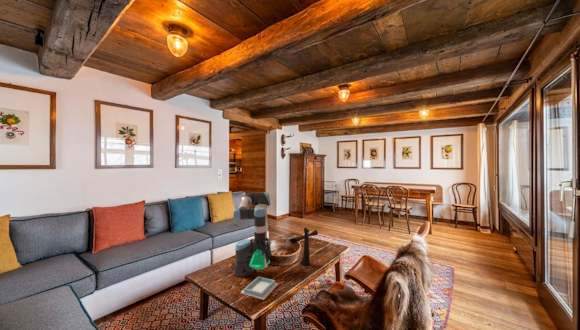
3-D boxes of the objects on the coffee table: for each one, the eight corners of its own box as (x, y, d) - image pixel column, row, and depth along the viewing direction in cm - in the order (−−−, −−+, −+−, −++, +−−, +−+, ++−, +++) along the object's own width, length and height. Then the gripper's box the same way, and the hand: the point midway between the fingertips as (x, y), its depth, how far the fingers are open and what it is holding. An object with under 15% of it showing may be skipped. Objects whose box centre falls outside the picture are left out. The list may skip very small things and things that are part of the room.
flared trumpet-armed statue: (295, 272, 171) (295, 233, 171) (286, 268, 178) (286, 230, 177) (320, 259, 193) (320, 224, 193) (312, 256, 200) (312, 222, 200)
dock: (240, 293, 144) (240, 288, 144) (256, 279, 161) (256, 275, 161) (263, 300, 138) (263, 295, 137) (277, 284, 154) (277, 280, 154)
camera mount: (257, 271, 142) (257, 255, 142) (249, 268, 147) (249, 252, 147) (270, 264, 152) (270, 249, 152) (262, 261, 156) (262, 246, 156)
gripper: (243, 231, 150) (243, 265, 150) (271, 235, 141) (271, 271, 142) (249, 228, 157) (249, 260, 157) (277, 232, 148) (277, 266, 148)
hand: (260, 265), depth 149 cm, fingers closed on camera mount, 9 cm apart
